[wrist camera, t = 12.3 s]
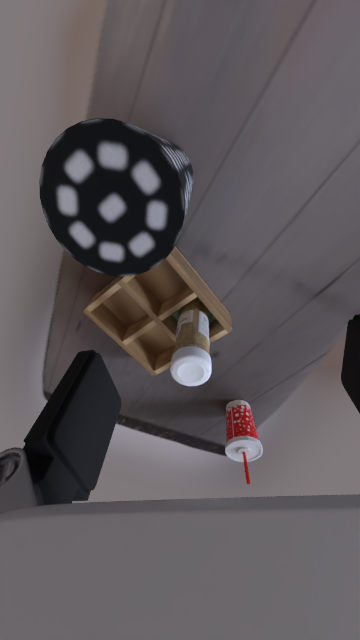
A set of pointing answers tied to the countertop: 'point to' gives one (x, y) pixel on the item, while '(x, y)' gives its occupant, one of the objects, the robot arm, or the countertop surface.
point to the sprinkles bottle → (192, 345)
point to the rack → (154, 310)
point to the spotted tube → (115, 195)
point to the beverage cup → (241, 434)
